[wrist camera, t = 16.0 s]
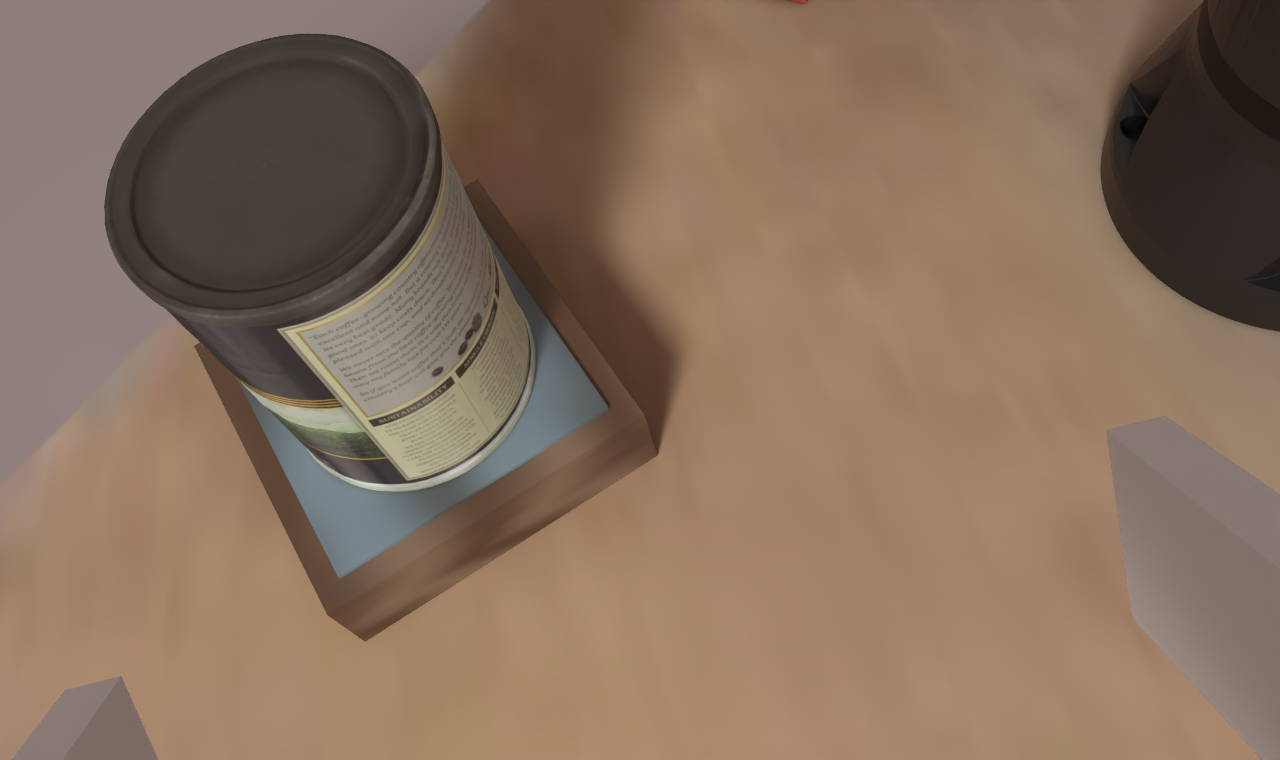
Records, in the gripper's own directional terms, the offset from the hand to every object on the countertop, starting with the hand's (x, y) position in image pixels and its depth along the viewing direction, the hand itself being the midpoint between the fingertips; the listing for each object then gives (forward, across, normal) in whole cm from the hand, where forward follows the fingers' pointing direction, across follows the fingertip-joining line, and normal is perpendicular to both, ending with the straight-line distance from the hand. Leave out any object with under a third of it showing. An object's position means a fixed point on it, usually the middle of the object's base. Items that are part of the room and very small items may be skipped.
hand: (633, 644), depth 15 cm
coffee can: (+32, -9, -4) cm, 34 cm away
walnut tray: (+35, -9, -7) cm, 37 cm away
